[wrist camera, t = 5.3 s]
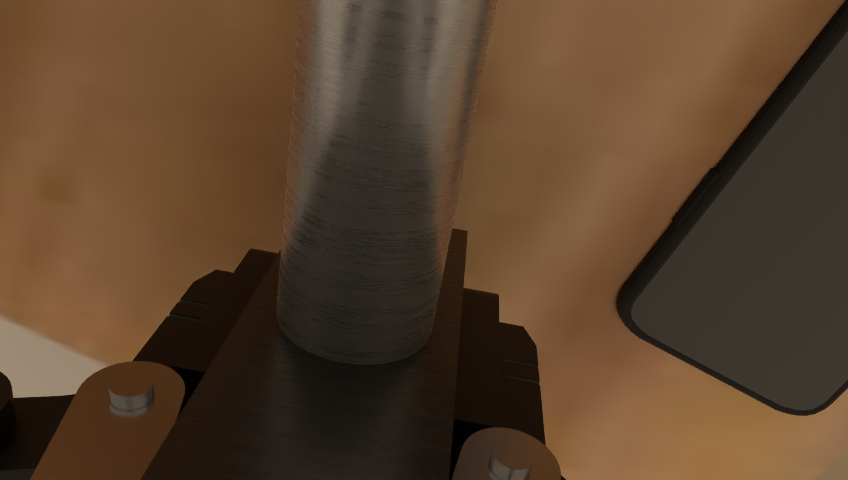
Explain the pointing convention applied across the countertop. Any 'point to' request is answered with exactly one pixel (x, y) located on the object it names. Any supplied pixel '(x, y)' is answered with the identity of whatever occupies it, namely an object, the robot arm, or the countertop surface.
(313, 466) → the shaft
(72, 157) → the countertop surface
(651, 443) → the countertop surface
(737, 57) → the countertop surface
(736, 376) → the smartphone
